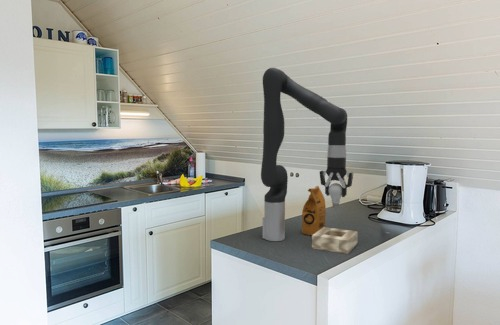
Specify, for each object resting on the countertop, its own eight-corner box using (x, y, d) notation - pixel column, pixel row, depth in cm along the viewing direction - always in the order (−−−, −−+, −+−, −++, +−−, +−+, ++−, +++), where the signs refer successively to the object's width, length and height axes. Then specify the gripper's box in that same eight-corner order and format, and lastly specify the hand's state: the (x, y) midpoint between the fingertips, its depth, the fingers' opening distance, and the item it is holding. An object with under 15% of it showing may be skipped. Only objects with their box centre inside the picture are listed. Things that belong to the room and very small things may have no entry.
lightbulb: (327, 210, 152) (327, 183, 151) (329, 207, 158) (329, 181, 157) (342, 211, 150) (342, 184, 149) (343, 208, 156) (344, 182, 155)
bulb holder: (311, 248, 152) (312, 235, 152) (323, 238, 165) (323, 226, 165) (347, 254, 145) (348, 240, 144) (357, 244, 158) (357, 231, 157)
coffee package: (298, 234, 173) (298, 188, 171) (309, 228, 183) (310, 184, 181) (318, 237, 168) (318, 189, 166) (328, 231, 178) (329, 186, 176)
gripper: (316, 156, 152) (316, 196, 154) (351, 157, 145) (350, 199, 146) (322, 155, 159) (322, 193, 160) (356, 156, 151) (355, 196, 153)
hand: (335, 196), depth 153 cm, fingers closed on lightbulb, 6 cm apart
